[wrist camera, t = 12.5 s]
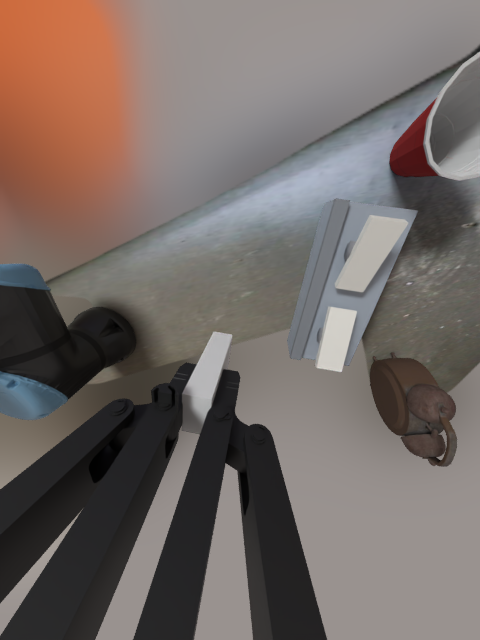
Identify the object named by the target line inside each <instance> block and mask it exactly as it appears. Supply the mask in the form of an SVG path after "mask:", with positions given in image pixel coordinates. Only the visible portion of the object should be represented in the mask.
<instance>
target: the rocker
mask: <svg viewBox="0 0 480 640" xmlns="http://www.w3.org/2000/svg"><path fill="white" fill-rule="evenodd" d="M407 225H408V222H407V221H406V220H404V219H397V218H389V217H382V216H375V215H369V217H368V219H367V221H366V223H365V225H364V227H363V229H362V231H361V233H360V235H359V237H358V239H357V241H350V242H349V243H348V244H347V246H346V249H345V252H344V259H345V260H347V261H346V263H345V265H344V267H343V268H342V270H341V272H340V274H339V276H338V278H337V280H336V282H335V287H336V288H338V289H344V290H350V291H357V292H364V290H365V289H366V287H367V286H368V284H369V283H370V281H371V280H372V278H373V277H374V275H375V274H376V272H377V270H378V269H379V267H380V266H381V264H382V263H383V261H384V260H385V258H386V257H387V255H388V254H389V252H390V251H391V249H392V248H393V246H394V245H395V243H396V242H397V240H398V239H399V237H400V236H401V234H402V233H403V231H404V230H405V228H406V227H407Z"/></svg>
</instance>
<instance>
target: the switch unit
mask: <svg viewBox="0 0 480 640" xmlns="http://www.w3.org/2000/svg"><path fill="white" fill-rule="evenodd" d="M417 212H418V211H417V210H410V209H402V208H395V207H387V206H379V205H372V204H364V203H357V202H350V200H342V199H334V200H332V201H329V202H327V203H324V204H323V208H322V212H321V216H320V219H319V223H318V227H317V231H316V235H315V238H314V242H313V246H312V250H311V253H310V257H309V261H308V265H307V268H306V272H305V276H304V280H303V283H302V287H301V291H300V295H299V298H298V302H297V306H296V310H295V313H294V317H293V321H292V325H291V328H290V332H289V336H288V340H287V342H288V348H289V354H290V358H291V359H297V360H300V359H301V358H307V359H313V360H316V358H317V353H318V349H319V345H320V343H318V342H317V332H318V330H319V328H323V327H324V323H325V318H326V314H327V310H328V306H330V307H336V308H342V309H348V310H354V311H357V314H356V318H355V322H354V326H353V330H352V334H351V338H350V342H349V346H348V350H347V354H346V357H345V361H344V365H347V366H349V364H350V362H351V360H352V358H353V355H354V353H355V351H356V349H357V346H358V344H359V342H360V340H361V338H362V335H363V333H364V331H365V329H366V326H367V324H368V322H369V320H370V317H371V315H372V313H373V311H374V308H375V306H376V304H377V302H378V299H379V297H380V295H381V293H382V291H383V288H384V286H385V284H386V282H387V279H388V277H389V275H390V273H391V270H392V268H393V266H394V264H395V261H396V259H397V257H398V255H399V252H400V250H401V248H402V246H403V244H404V241H405V239H406V237H407V235H408V232H409V230H410V228H411V226H412V223H413V221H414V219H415V217H416V214H417ZM369 215H375V216H382V217H389V218H397V219H404V220H406V221H407V222H408V225H407V227H406V228H405V230H404V231H403V233H402V234H401V236H400V237H399V239H398V240H397V242H396V243H395V245H394V246H393V248H392V249H391V251H390V252H389V254H388V255H387V257H386V258H385V260H384V261H383V263H382V264H381V266H380V267H379V269H378V270H377V272H376V274H375V275H374V277H373V278H372V280H371V281H370V283H369V284H368V286H367V287H366V289H365V290H364V292H357V291H350V290H344V289H338V288H336V287H335V282H336V280H337V278H338V276H339V274H340V272H341V270H342V268H343V267H344V265H345V263H346V261H347V260H345V259H344V252H345V249H346V246H347V244H348V243H349V242H350V241H357V239H358V237H359V235H360V233H361V231H362V229H363V227H364V225H365V223H366V221H367V219H368V217H369Z"/></svg>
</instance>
